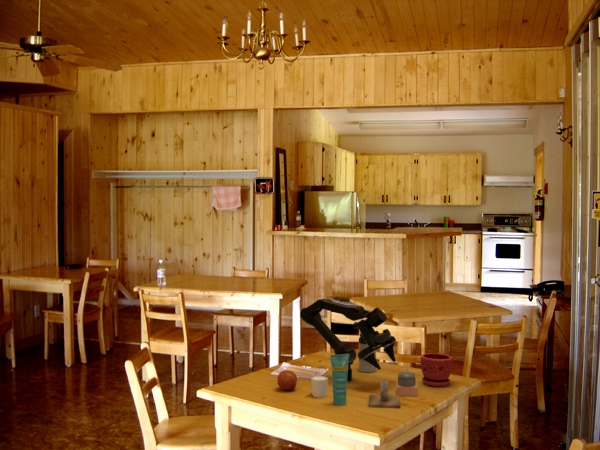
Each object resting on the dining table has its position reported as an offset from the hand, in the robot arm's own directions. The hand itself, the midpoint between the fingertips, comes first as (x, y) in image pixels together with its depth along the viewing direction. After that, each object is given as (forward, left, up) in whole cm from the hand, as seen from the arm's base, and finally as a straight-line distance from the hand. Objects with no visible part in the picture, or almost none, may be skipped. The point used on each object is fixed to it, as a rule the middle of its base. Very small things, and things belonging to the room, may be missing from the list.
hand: (387, 365), depth 251 cm
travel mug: (-9, +26, -10) cm, 29 cm away
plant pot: (+21, +9, -10) cm, 25 cm away
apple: (-41, -7, -10) cm, 43 cm away
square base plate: (-1, -19, -9) cm, 21 cm away
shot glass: (-27, -13, -10) cm, 32 cm away
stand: (+8, -6, -9) cm, 14 cm away
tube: (-18, -22, -10) cm, 30 cm away
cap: (+8, -6, -6) cm, 11 cm away
